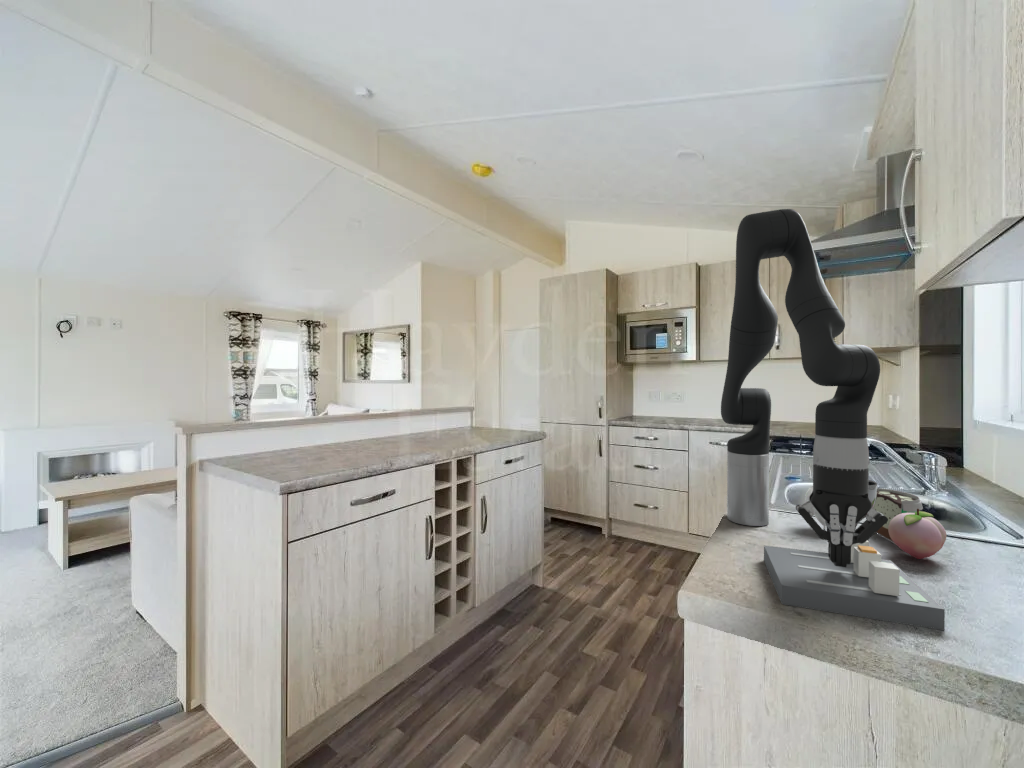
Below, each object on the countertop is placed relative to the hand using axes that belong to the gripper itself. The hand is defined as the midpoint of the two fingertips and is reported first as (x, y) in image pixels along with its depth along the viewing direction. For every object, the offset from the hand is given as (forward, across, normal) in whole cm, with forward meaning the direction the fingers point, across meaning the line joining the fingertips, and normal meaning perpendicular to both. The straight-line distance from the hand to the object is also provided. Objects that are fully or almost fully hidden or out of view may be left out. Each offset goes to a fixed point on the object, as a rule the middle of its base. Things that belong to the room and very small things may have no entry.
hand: (839, 564), depth 75 cm
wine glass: (+4, -7, -19) cm, 21 cm away
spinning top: (+4, -6, -34) cm, 35 cm away
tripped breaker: (+1, -4, 0) cm, 4 cm away
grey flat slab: (+4, 0, 0) cm, 4 cm away
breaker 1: (+1, -4, -6) cm, 7 cm away
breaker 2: (+1, -4, +6) cm, 7 cm away
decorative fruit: (+4, -18, -21) cm, 28 cm away
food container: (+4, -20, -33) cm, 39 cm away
